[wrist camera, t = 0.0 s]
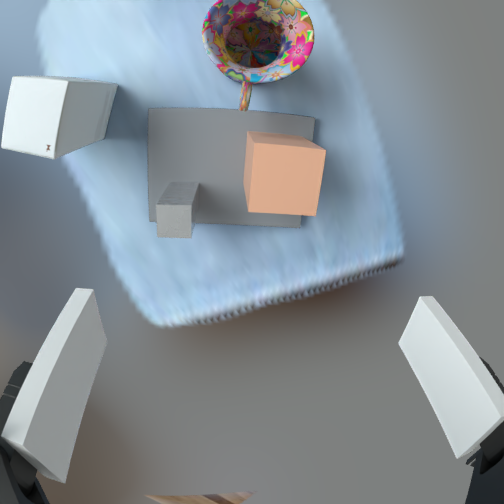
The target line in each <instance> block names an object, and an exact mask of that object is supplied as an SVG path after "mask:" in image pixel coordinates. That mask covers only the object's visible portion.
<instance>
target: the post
mask: <svg viewBox="0 0 504 504" xmlns="http://www.w3.org/2000/svg"><path fill="white" fill-rule="evenodd" d="M198 200H199V183H197V182H170V184H169V185H168V187H167V188H166V190H165V191H164V193H163V194H162V196H161V198H160V199H159V201H158V202H157V204H156V215H157V236H158V237H169V238H192V233H193V229H194V225H195V221H196V217H197V213H198Z"/></svg>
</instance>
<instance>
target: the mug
mask: <svg viewBox="0 0 504 504" xmlns="http://www.w3.org/2000/svg"><path fill="white" fill-rule="evenodd" d="M202 39H203V44H204V47H205V50H206V52H207V54H208V56H209V58H210V59H211V60H212V62H213V63H214V64H215V65H216V66H217V67H218V68H219V69H220V70H221V72H222V73H223V74H225V75H226V76H227V77H229V78H230V79H232V80H234V81H237V82H240V83H242V89H241V96H240V104H239V110H240V111H243V112H245V111H247V110H248V106H249V102H250V97H251V91H252V84H257V83H267V82H273V81H277V80H280V79H283V78H285V77H288V76H289V75H291V74H293V73H294V72H296V71H297V70H298V69H299V68H300V67H301V66H302V65H303V64H304V63H305V62H306V60H307V59H308V57H309V55H310V53H311V51H312V48H313V44H314V29H313V25H312V22H311V19H310V17H309V15H308V13H307V12H306V10H305V9H304V8H303V7H302V5H301V4H300V3H299V2H297V1H296V0H218V1H217V2H216V3H215V4H214V5H213V6H212V7H211V9H210V10H209V12H208V13H207V15H206V17H205V20H204V23H203V29H202Z"/></svg>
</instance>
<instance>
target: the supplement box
mask: <svg viewBox="0 0 504 504" xmlns="http://www.w3.org/2000/svg"><path fill="white" fill-rule="evenodd" d="M117 87H118V84H115V83H109V82H103V81H96V80H90V79H82V78H74V77H59V76H14V77H13V78H12V82H11V87H10V91H9V97H8V102H7V108H6V114H5V121H4V128H3V136H2V143H1V147H2V148H4V149H9V150H14V151H19V152H24V153H27V154H33V155H38V156H42V157H47V158H51V159H56V158H59V157H61V156H63V155H65V154H68V153H70V152H72V151H75V150H77V149H80V148H82V147H84V146H87V145H89V144H92V143H94V142H97V141H100V140H102V139H104V137H105V133H106V129H107V124H108V120H109V116H110V112H111V109H112V105H113V101H114V97H115V94H116V90H117Z"/></svg>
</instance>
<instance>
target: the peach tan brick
mask: <svg viewBox="0 0 504 504" xmlns="http://www.w3.org/2000/svg"><path fill="white" fill-rule="evenodd" d="M325 155H326V150H325V149H323V148H322V147H320V146H318V145H316V144H314V143H313V142H311V141H309V140H307V139H306V138H304V137H302V136H295V135H286V134H276V133H265V132H253V131H248V132H247V143H246V156H245V168H244V180H243V184H244V190H245V196H246V201H247V207H248V212H258V213H275V214H291V215H306V216H316V211H317V206H318V200H319V194H320V187H321V181H322V175H323V168H324V162H325Z"/></svg>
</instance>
